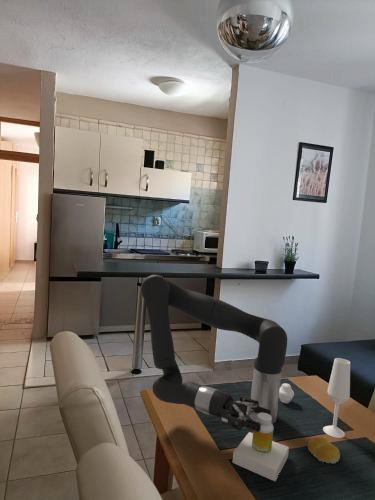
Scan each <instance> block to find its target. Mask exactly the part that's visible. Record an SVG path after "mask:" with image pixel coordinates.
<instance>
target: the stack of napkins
mask: <svg viewBox="0 0 375 500" xmlns="http://www.w3.org/2000/svg"><path fill="white" fill-rule="evenodd" d="M252 438H253V432H250V431H249V432H248V433H247V434H246V435H245V437H244V438H243V439H242V441H241V442H240V443H239V444H238V446H237V447H236V449H234V451H233V454H232V464H235V465H237V466H239V467H241V468H243V469H246V470H248V471H251V472H253V473H255V474H256V475H259V476H262V477H264V478H266V479H268V480H270V481H273V482H276V481H277V480H278V477H279V476H278V475H280V474H281V471H282V469H283V468H284V466H285V464H286V462H287V460H288V457H289V451H290V449H289V448H290V447H289V446H287V445H284V444H282V443H278V442H276V441H274V440H272V448H271V452H270V454H268V455H260V454H258V453H256V452H255V451H254V450H253V449H252ZM279 473H280V474H279Z"/></svg>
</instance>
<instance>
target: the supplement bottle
mask: <svg viewBox="0 0 375 500" xmlns="http://www.w3.org/2000/svg"><path fill="white" fill-rule="evenodd" d="M256 422H259V423H260V424H261V430H260V431H259V432H257V431H254V430H252V431H253V432H252V433H253V438H252V449H253V450H254V451H255V452H256V453H258V454H260V455H268V454H270V452H271V448H272V441H273V436H274V428H275V427H274V424H272V417H271V415H269V414H267V413H258V415H257V421H256Z"/></svg>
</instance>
